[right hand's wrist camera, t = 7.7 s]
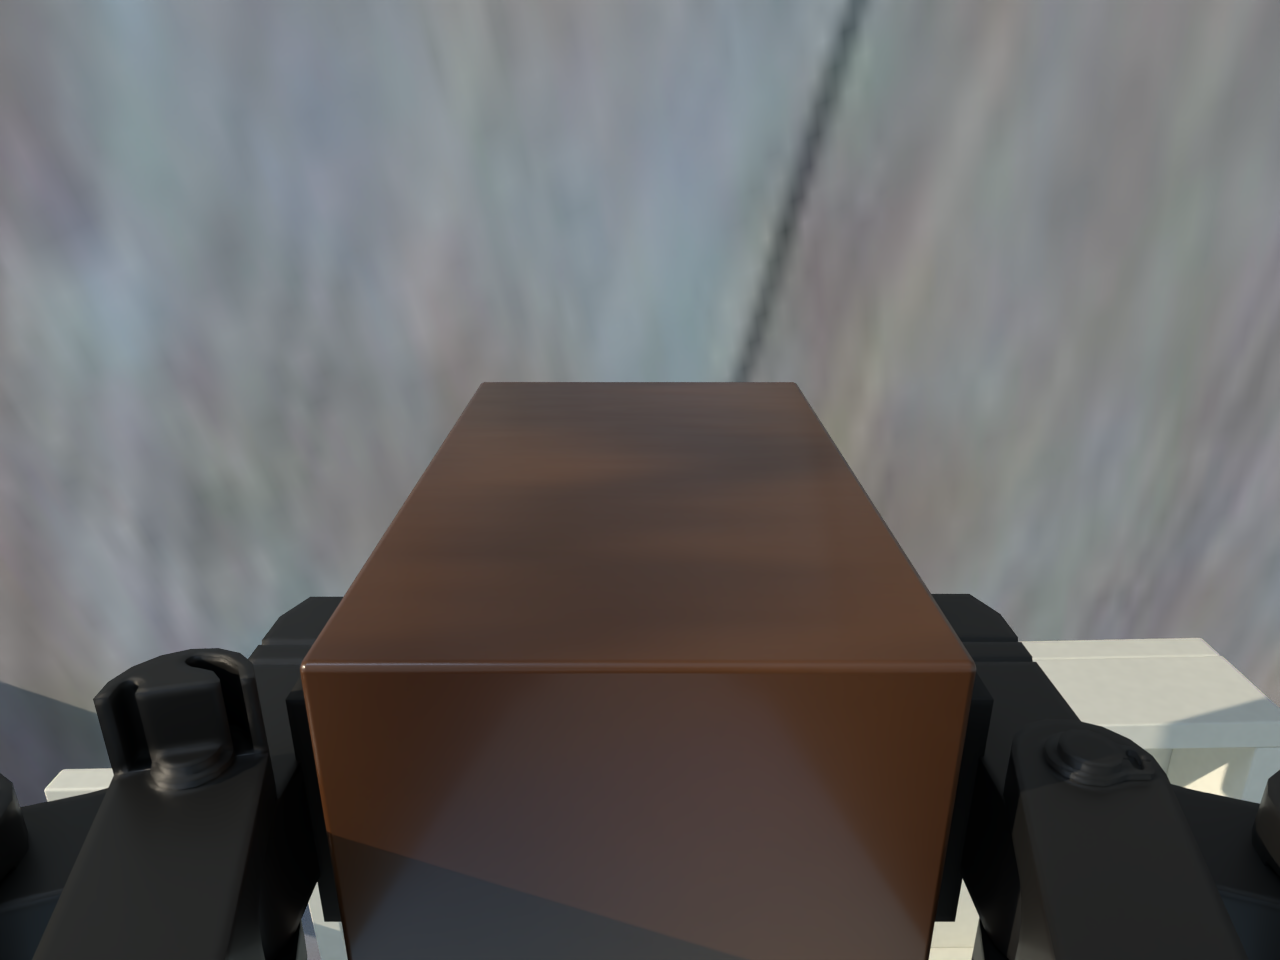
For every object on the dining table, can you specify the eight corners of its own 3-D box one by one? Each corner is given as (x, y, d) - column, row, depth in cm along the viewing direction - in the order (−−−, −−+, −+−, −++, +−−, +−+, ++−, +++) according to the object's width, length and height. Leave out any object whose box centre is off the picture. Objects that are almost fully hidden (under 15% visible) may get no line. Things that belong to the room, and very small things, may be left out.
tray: (1202, 636, 26) (1469, 879, 17) (1128, 936, 30) (1313, 1243, 22) (25, 660, 26) (-263, 908, 18) (124, 951, 31) (-71, 1258, 22)
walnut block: (797, 381, 14) (980, 664, 6) (778, 653, 16) (904, 1122, 8) (480, 381, 14) (294, 665, 6) (499, 653, 16) (371, 1121, 8)
